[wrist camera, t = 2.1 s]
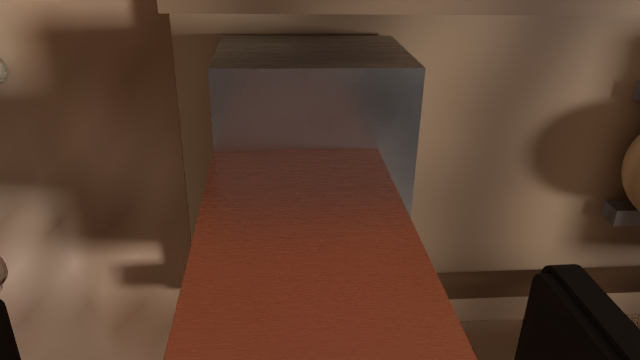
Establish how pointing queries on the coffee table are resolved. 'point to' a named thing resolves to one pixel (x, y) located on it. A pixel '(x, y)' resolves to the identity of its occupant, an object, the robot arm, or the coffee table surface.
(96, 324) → the coffee table surface
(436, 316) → the salmon pink rectangular box
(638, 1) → the press base
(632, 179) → the tan ball
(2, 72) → the bull figurine
